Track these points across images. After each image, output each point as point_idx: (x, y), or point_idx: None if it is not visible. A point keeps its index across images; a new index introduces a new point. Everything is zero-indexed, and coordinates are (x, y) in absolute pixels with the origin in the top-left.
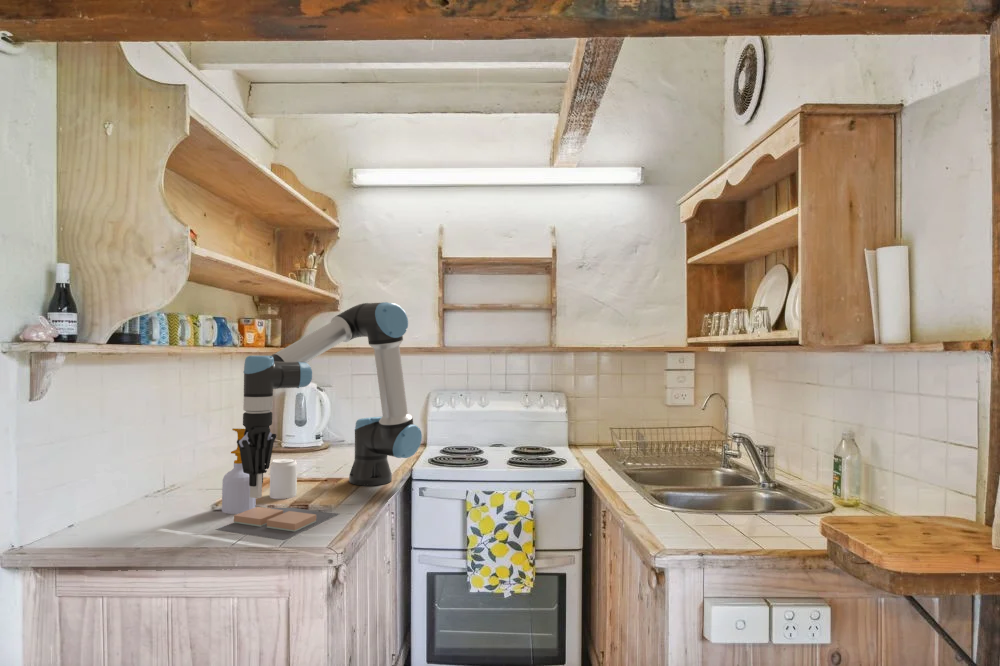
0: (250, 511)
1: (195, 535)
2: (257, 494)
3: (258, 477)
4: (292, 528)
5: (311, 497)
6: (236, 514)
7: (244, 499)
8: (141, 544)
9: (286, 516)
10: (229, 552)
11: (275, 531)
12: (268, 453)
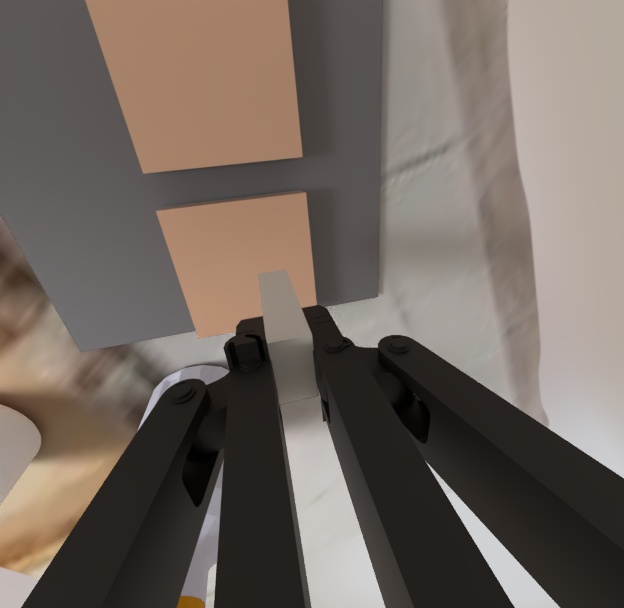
0: (255, 309)
1: (413, 310)
2: (289, 279)
3: (305, 323)
4: None
5: None
6: None
7: None
8: (489, 347)
9: (213, 110)
10: (509, 90)
11: (310, 83)
12: (120, 576)
